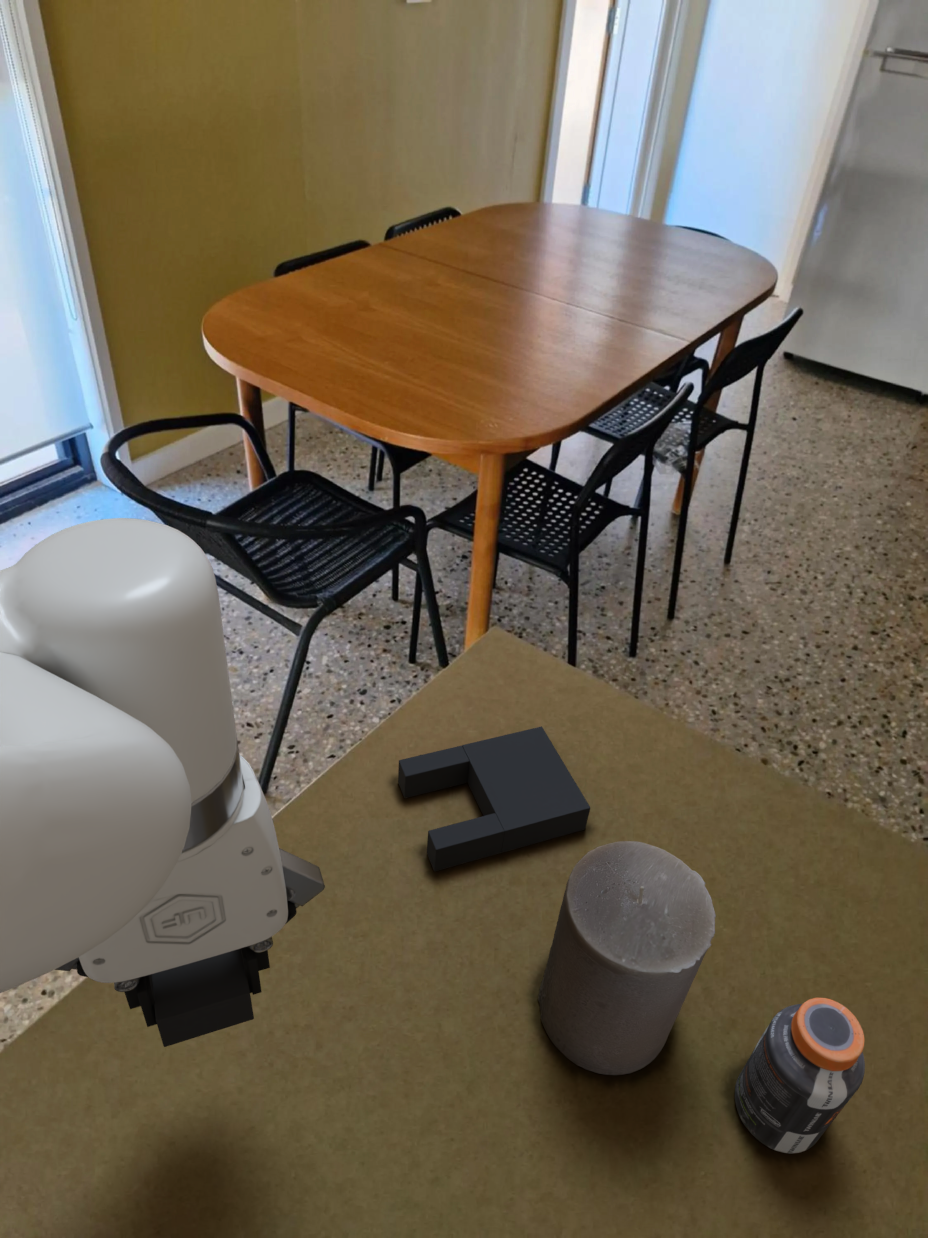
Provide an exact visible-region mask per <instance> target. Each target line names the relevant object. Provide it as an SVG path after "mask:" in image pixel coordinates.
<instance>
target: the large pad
mask: <svg viewBox="0 0 928 1238" xmlns="http://www.w3.org/2000/svg"><path fill="white" fill-rule="evenodd" d="M397 770H398V771H397V772H398V773H397V777H398V778H397V783H398V785H399V789H400V791H401V793H402V795H403V798H404V799H407V798H412V797H416V796H420V795H424V794H428V793H431V792H436V791H440V790H444V789H447V788H453V787H456V786H460V785H463V784H467V785H468V787H469V789H470V791H471V793H472V795H473V797H474V799H475V801H476V804H477V806H478V808H479V809H480V812H481V814H482V816H479V817H475V818H471V819H468V820H463V821H460V822H456V823H452V824H448V825H445V826H441V827H440V826H439V827H437V828H433V829H429V830H428V831H427V843H426V855H427V857H428V860H429V862H430V864H431V868H432V869H433V872H438V871H442V870H445V869H449V868H453V867H456V866H460V865H464V864H467V863H471V862H475V861H477V860H481V859H484V858H489V857H492V856H495V855H499V854H503V853H507V852H510V851H514V850H516V849H520V848H524V847H528V846H531V845H535V844H538V843H542V842H545V841H550V840H553V839H556V838H560V837H563V836H566V835H570V834H575V833H577V832H578V833H579V832H581V831H584V830H586V827H587V823H588V821H589V820H588V819H589V815H590V812H591V806H590V804H589V803H588V801H587V799H586V798H585V796H584V794H583V793H582V791H581V789H580V787H579V786H578V784H577V783H576V781H575V779H574V778H573V775H572V774H571V773H570V771H569V769H568V767H567V766H566V764H565V763H564V761H563V759H562V758H561V756H560V754H559V752H558V751H557V749H556V747H555V746H554V744H553V742H552V741H551V739H550V737H549V736H548V734H547V732H546V730H545V729H544V728H543V726H537V727H534V728H529V729H525V730H520V731H516V732H512V733H507V734H503V735H500V736H495V737H491V738H487V739H482V740H478V741H474V742H469V743H465V744H462V745H458V746H457V745H456V746H453V747H449V748H446V749H445V748H444V749H441V750H437V751H436V750H435V751H432V752H428V753H427V752H426V753H423V754H420V755H415V756H411V757H406V758H402V759H399V760H398V769H397Z"/></svg>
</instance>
